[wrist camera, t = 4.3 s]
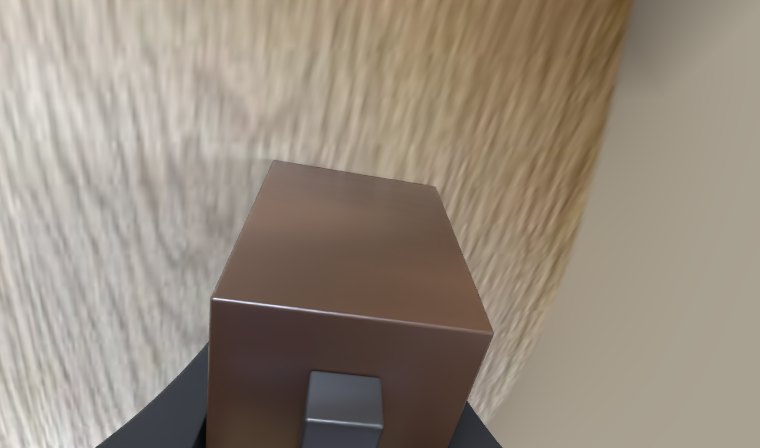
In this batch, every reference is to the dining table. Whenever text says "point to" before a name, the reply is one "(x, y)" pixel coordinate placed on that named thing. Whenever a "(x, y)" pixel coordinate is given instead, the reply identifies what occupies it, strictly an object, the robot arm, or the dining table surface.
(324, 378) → the knife block
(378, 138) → the dining table surface
